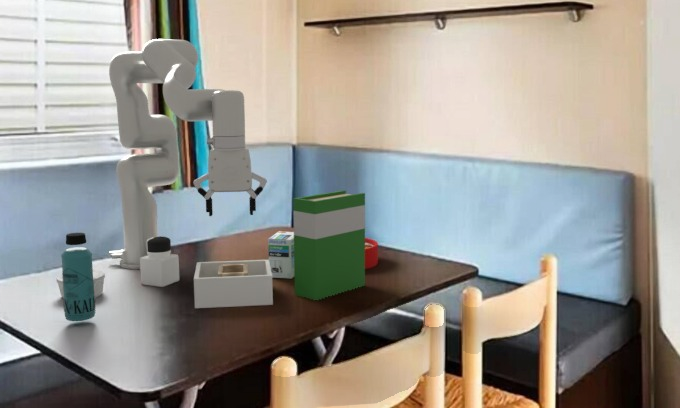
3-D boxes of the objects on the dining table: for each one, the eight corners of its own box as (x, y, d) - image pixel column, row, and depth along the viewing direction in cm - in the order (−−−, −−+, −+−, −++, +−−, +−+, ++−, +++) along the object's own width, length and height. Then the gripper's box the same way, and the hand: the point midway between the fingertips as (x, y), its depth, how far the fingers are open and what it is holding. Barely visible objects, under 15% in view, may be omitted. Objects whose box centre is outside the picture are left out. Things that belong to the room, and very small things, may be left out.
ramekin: (60, 305, 173) (59, 283, 172) (55, 293, 182) (53, 272, 181) (109, 298, 178) (108, 277, 177) (101, 287, 187) (100, 267, 187)
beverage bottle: (69, 319, 162) (63, 230, 159) (100, 318, 163) (94, 229, 159) (60, 328, 156) (54, 236, 152) (92, 327, 156) (87, 236, 153)
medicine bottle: (180, 280, 193) (178, 236, 191) (162, 287, 187) (160, 241, 185) (158, 277, 196) (156, 234, 194) (140, 284, 190) (138, 239, 188)
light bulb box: (292, 279, 194) (291, 239, 192) (267, 278, 195) (267, 238, 194) (302, 269, 204) (301, 231, 203) (279, 268, 206) (278, 230, 204)
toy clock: (386, 248, 204) (316, 253, 199) (386, 269, 205) (316, 273, 200) (367, 234, 223) (302, 238, 219) (367, 253, 224) (303, 257, 220)
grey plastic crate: (194, 308, 169) (193, 279, 168) (198, 289, 185) (197, 262, 184) (272, 304, 172) (272, 275, 171) (269, 286, 187) (268, 259, 186)
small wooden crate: (218, 298, 173) (217, 274, 172) (219, 288, 182) (218, 264, 181) (248, 297, 174) (247, 272, 173) (247, 287, 183) (247, 263, 182)
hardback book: (343, 280, 193) (343, 190, 189) (364, 285, 188) (364, 193, 184) (294, 294, 180) (293, 198, 176) (315, 300, 175) (314, 201, 171)
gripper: (191, 145, 168) (193, 218, 170) (266, 144, 170) (268, 216, 173) (192, 142, 175) (195, 212, 178) (265, 141, 177) (266, 211, 180)
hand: (231, 214), depth 175 cm, fingers open, 9 cm apart
